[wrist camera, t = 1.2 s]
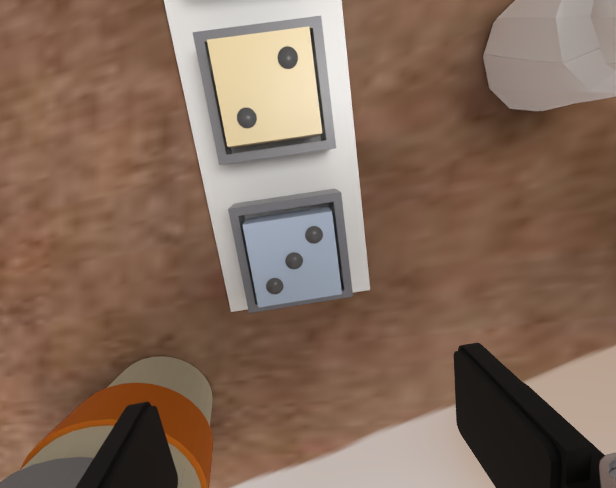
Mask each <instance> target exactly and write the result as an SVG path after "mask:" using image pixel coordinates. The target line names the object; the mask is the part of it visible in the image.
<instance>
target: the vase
mask: <svg viewBox="0 0 616 488" xmlns="http://www.w3.org/2000/svg"><path fill="white" fill-rule="evenodd" d="M483 60H484V65H485V70H486V75H487V80H488V85H489V89H490V90H491V91H492V92H493V93H494V94H495V95H496V96H497V97H498V98H499V99H500V100H501V101H502V102H503V103H504V104H506V105H507V106H508V107H509V108H510V109H518V110H528V111H545V110H550V109H554V108H559V107H563V106H566V105H570V104H574V103H581V102H587V101H593V100H599V99H605V98H610V97H615V96H616V0H515V1H514V2H513V3H512V4H511V5H510V6H509V7H508V8H507V9H506V10H505V11H504V12H503V13H502V14H501V15H500V16H499V17H497V19H496V20H495V21H494V23H493V26H492V29H491V32H490V35H489V39H488V42H487V45H486V48H485V51H484V55H483Z"/></svg>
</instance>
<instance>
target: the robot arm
mask: <svg viewBox="0 0 616 488" xmlns="http://www.w3.org/2000/svg"><path fill="white" fill-rule="evenodd" d="M454 371H455V395H456V417H457V426H458V429H459V431H460V433H461V435H462V437H463V438H464V440H465V441H466V443H467V444H468V446H469V447H470V449H471V450H472V452H473V453H474V455H475V457H476V458H477V459H478V461H479V463H480V464H481V466H482V467H483V469H484V470H485V472H486V473H487V475H488V476H489V478H490V479H491V481H492V482H493V484H494V485H495V487H496V488H616V453H612V454H608V455H604V454H603V453H601V452H600V451H599V450H598V449H597V448H596V447H595V446H594V445H593V444H592V443H590V442H589V441H588V440H587V439H586V438H585V437H584V436H583V435H582V434H580V433H579V432H578V431H577V430H576V429H575V428H574V427H573V426H572V425H571V424H570V423H568V422H567V421H566V420H565V419H564V418H563V417H562V416H561V415H560V414H558V413H557V412H556V411H555V410H554V409H553V408H552V407H551V406H550V405H549V404H548V403H546V402H545V401H544V400H543V399H542V398H541V397H540V396H539V395H537V393H535V392H534V391H533V390H532V389H531V388H530V387H529V386H528V385H526V384H525V383H523V382H522V381H520V380H519V379H518V378H517V377H516V376H515V375H514V374H513V373H512V372H511V371H510V370H508V369H507V368H506V367H505V366H504V365H503V364H502V363H501V362H500V361H499V360H498V359H496V358H495V357H494V356H493V355H492V354H491V353H490V352H489V351H488V350H487V349H486V348H484V347H483V346H482V345H481V344H480V343H473V344H467V345H461V346H459V348H458V351H456V352H455V353H454ZM177 487H178V474H177V471H176V467H175V464H174V461H173V458H172V454H171V451H170V448H169V445H168V441H167V438H166V435H165V432H164V428H163V425H162V422H161V419H160V415H159V412H158V409H157V407H156V406H151V404H150V403H149V402H142V403H137V404H131V405H128V406H127V407H126V408H125V409H124V411H123V412H122V414H121V416H120V417H119V419H118V420H117V422H116V424H115V425H114V427H113V428H112V430H111V432H110V433H109V435H108V436H107V438H106V440H105V441H104V443H103V444H102V446H101V448H100V449H99V451H98V452H97V454H96V456H95V457H94V459H93V460H92V462H91V463H90V465H89V467H88V468H87V470H86V471H85V473H84V475H83V476H82V478H81V479H80V481H79V483H78V484H77V486H76V487H75V488H177Z"/></svg>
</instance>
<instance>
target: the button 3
mask: <svg viewBox="0 0 616 488" xmlns="http://www.w3.org/2000/svg"><path fill="white" fill-rule="evenodd" d="M243 230H244V236H245V241H246V246H247V251H248V256H249V262H250V267H251V272H252V277H253V282H254V288H255V293H256V298H257V303H258V307H265V306H271V305H277V304H284V303H290V302H296V301H302V300H309V299H315V298H321V297H327V296H334V295H340V294H342V289H341V281H340V273H339V265H338V257H337V249H336V240H335V232H334V224H333V216H332V211H331V210H330V209H329V208H328V207H327V206H326V207H319V208H312V209H306V210H299V211H292V212H286V213H279V214H272V215H266V216H259V217H252V218H246V220H245V221H244V223H243Z"/></svg>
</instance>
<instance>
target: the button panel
mask: <svg viewBox="0 0 616 488" xmlns="http://www.w3.org/2000/svg"><path fill="white" fill-rule="evenodd" d="M164 3H165V8H166V13H167V17H168V22H169V26H170V31H171V36H172V40H173V45H174V50H175V54H176V59H177V63H178V68H179V73H180V77H181V82H182V87H183V91H184V96H185V101H186V105H187V110H188V114H189V119H190V124H191V128H192V133H193V138H194V142H195V147H196V152H197V156H198V161H199V165H200V170H201V175H202V179H203V184H204V189H205V193H206V198H207V203H208V207H209V212H210V216H211V221H212V226H213V230H214V235H215V240H216V244H217V249H218V254H219V258H220V263H221V267H222V272H223V277H224V281H225V286H226V291H227V295H228V300H229V304H230V309H231V312H234V311H240V310H247V309H248V311H249V313H253V312H260V311H266V310H272V309H278V308H285V307H291V306H297V305H303V304H310V303H316V302H322V301H328V300H335V299H341V298H347V297H353V292H360V291H366V290H370V283H369V273H368V263H367V253H366V243H365V233H364V223H363V213H362V203H361V192H360V182H359V172H358V162H357V152H356V142H355V132H354V122H353V112H352V102H351V92H350V82H349V72H348V62H347V51H346V41H345V31H344V21H343V11H342V1H341V0H164ZM308 26H309V28H310V36H311V44H312V53H313V61H314V69H315V77H316V85H317V93H318V102H319V110H320V118H321V126H322V134H321V135H319V136H315V137H308V138H301V139H294V140H287V141H279V142H272V143H265V144H258V145H251V146H244V147H237V148H231V147H227V142H226V137H225V132H224V127H223V121H222V116H221V111H220V106H219V101H218V95H217V90H216V85H215V80H214V75H213V69H212V64H211V59H210V54H209V49H208V43H207V40H209V39H217V38H224V37H232V36H239V35H247V34H255V33H262V32H270V31H278V30H285V29H293V28H301V27H308ZM326 206H327V207H328V208H329V209H330V210H331V211H332V216H333V224H334V232H335V240H336V249H337V257H338V265H339V273H340V281H341V289H342V294H340V295H334V296H327V297H321V298H315V299H309V300H302V301H296V302H290V303H284V304H277V305H271V306H265V307H258V303H257V298H256V293H255V288H254V282H253V277H252V272H251V267H250V262H249V256H248V251H247V246H246V241H245V236H244V230H243V223H244V221H245V220H246V218H252V217H259V216H266V215H272V214H279V213H286V212H292V211H299V210H306V209H312V208H319V207H326Z"/></svg>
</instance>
